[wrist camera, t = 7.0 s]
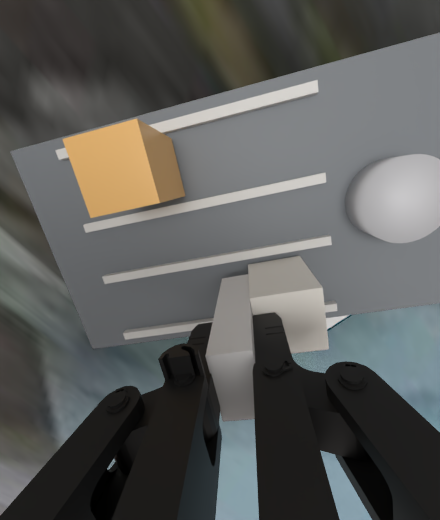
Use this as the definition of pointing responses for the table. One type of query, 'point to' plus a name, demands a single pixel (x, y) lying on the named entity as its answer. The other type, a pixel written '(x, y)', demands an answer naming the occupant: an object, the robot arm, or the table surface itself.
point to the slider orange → (124, 167)
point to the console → (264, 198)
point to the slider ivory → (290, 301)
